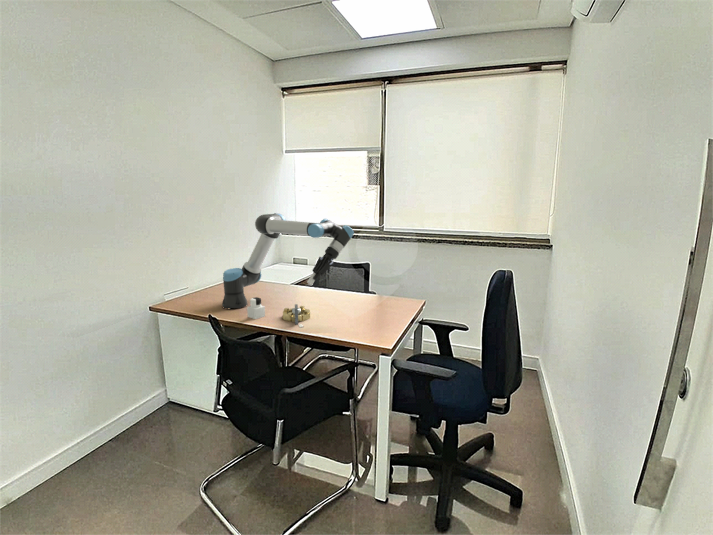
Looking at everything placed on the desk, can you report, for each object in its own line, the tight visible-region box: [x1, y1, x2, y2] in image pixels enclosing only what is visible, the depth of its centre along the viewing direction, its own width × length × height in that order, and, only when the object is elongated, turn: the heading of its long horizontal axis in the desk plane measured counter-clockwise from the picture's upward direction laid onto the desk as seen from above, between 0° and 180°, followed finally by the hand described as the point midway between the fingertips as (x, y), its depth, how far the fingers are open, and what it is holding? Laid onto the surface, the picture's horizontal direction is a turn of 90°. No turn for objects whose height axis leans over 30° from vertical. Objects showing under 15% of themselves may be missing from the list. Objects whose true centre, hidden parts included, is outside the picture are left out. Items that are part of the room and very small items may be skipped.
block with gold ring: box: [282, 303, 311, 326], centre depth 209 cm, size 20×15×9 cm
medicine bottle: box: [246, 296, 266, 320], centre depth 213 cm, size 7×7×12 cm
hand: (309, 283), depth 203 cm, fingers closed
